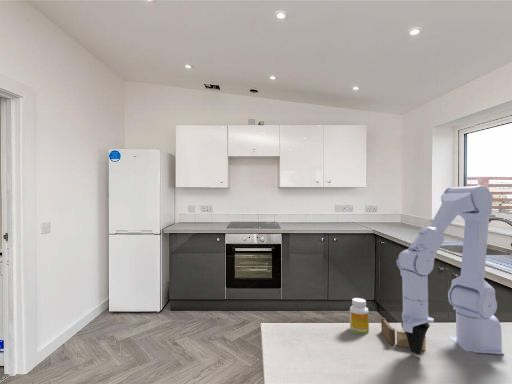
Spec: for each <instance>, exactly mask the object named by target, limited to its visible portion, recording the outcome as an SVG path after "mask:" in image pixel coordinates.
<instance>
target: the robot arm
mask: <svg viewBox="0 0 512 384" xmlns="http://www.w3.org/2000/svg"><path fill="white" fill-rule="evenodd" d="M493 198H494V196H493V194H492V192H491V191H490V190H489V188H488V187H487V186H485V185H484V184H480V185H473V186H472V185H468V186H448V187H447V188H445V190H444V191H443V194H442V195H441V196H440V199H441V200H440V201H441V205H440V206H439V208H438V210H437V212H436V214H435V216H434V218H433V219H432V222H431V223H430V225H429V226H426V227H422V228H420V229H419V231H418V234H417V236H416V237H415V239H414V240H413V241H412V242H411V244H410V246H409V247H408V248H407V249H403V250H402V251H400V252H399V255H398V257H397V259H396V266H397V267H398V268H399V271H400V276H401V277H402V281H401V282H402V283H401V284H402V286H401V287H402V288H401V289H402V290H401V291H402V313H401V317H402V322H401V323H400V324H401V328H402V331H405V333H406V336H407V339H408V343H409V347H410V348H409V347H408V348H409V350H410V352H411V353H413V354H417V355H421V353H422V352H423V350H422V347H423V342H424V338H425V336H426V334H427V331H429V328H430V327H431V326H430V324H433V323H434V322H435V318H433V317H430V316H429V284H428V283H429V281H428V278H429V277H428V275H429V274H431V272H432V271H433V270H434V265H435V259H436V256H435V255H436V254H437V252H438V250H439V249H440V248H441V247H442V246H443V245H442V244H443V243H444V242H445V236H444V232H445V231H446V230H447V229H448V227H449V226H450V225H451V224H452V222H453V221H454V220H455V219H456V217H457V216H460V217H461V218H462V219H463V220H464V231H463V242H462V243H463V244H462V255H461V256H462V257H461V265H460V267H461V268H460V275H459V276H457V277H456V278H453V279H452V280H451V285H450V288H449V289H448V293H447V298H448V302H449V304H450V305H451V306H452V307H453V308H452V310H455V317H456V318H455V324H456V326H455V327H456V328H455V329H456V330H455V331H456V332H455V333H456V336H449V339H451V340H452V341H453V342H455V344H457V345H458V346H459V347H461V349H463V350H464V351H466V352H467V351H469V352H474V353H478V354H492V355H494V354H495V355H505V352H504V350H503V342H502V341H503V340H502V339H503V337H502V336H503V335H502V334H503V333H502V326H501V322H500V321H499V319H498V318H497V316H495V314H496V312H497V309H498V301H497V300H496V290H495V288H494V287H493V286H492V285H491V284H489V283H488V281H486V280H485V276H486V273H485V272H486V260H487V250H488V249H487V247H488V236H489V221H490V217H492V210H493V209H492V208H493Z"/></svg>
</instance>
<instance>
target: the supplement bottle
mask: <svg viewBox="0 0 512 384" xmlns="http://www.w3.org/2000/svg"><path fill="white" fill-rule="evenodd" d="M351 300H352V301H351V304H352V305H351V306H350V308H349V331H351V332H352V333H354V334H357V335H368V334H369V333H370V329H369V327H370V324H369V323H370V321H369V320H370V319H369V318H370V317H369V316H370V315H369V313H370V311H369V308H368V307H366V306H367V301H366V299H364V298H360V297H354V298H351Z"/></svg>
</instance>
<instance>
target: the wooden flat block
mask: <svg viewBox="0 0 512 384" xmlns="http://www.w3.org/2000/svg"><path fill="white" fill-rule="evenodd" d="M426 336H427V335H425V338H424V342H423V347H422V351H426V350H427V349H426V343H427V342H426V339H427V338H426ZM396 346H399V347H404V348H409V349H410V347H409V343H408V339H407V336H406V333H405V331H403V330H400V329H396Z"/></svg>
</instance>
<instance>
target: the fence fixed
mask: <svg viewBox="0 0 512 384" xmlns="http://www.w3.org/2000/svg"><path fill="white" fill-rule="evenodd" d="M380 320H381V324H380V325H381V333H382V334H383V335H384V337H385V338H386V339H387V341H388V344H389V346H396V329H395V328H393V327H392V326H391V325H390V323H388V321H387V319H386V318H385V317H381V319H380Z"/></svg>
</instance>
